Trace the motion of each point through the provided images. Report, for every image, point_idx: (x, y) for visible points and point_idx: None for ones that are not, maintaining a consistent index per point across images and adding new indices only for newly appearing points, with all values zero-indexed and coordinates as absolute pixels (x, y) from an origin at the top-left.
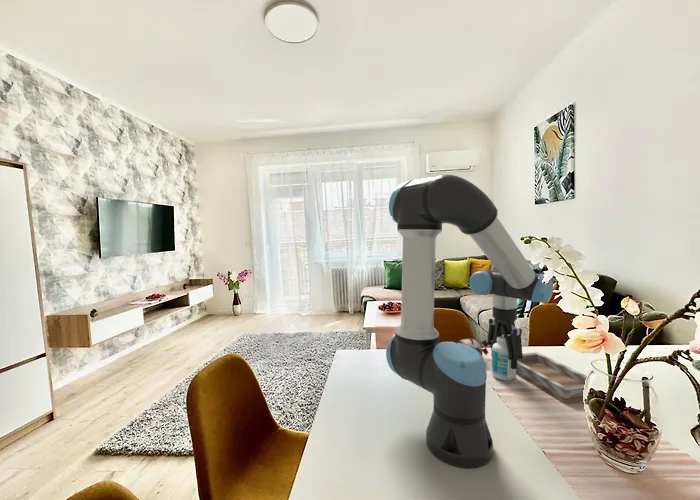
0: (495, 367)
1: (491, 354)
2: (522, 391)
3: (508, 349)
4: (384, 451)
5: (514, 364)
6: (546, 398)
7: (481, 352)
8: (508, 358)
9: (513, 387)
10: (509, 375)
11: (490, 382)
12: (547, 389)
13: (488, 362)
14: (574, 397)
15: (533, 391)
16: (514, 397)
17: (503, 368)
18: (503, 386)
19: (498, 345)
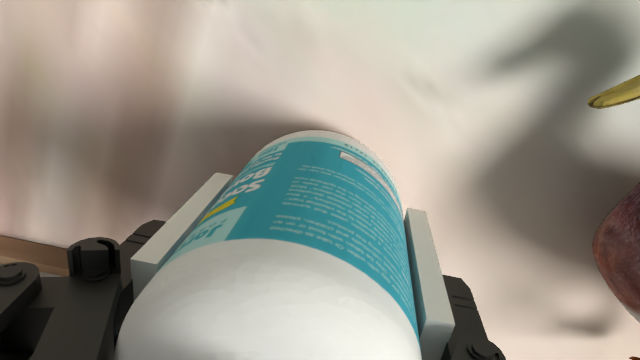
0: (300, 154)
1: (470, 293)
2: (114, 146)
3: (79, 352)
4: None
5: (120, 252)
6: (22, 199)
7: (626, 295)
8: (113, 248)
9: (173, 139)
10: (208, 185)
11: (285, 43)
12: (52, 262)
13: (551, 294)
14: None
15: (102, 205)
16: (53, 29)
17: (231, 184)
18: (203, 86)
19: (248, 355)
